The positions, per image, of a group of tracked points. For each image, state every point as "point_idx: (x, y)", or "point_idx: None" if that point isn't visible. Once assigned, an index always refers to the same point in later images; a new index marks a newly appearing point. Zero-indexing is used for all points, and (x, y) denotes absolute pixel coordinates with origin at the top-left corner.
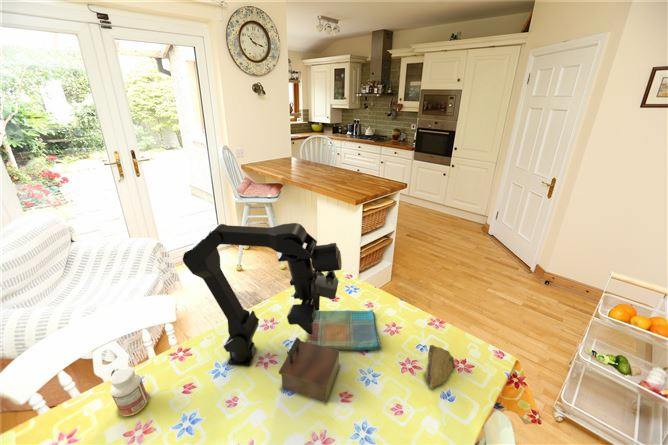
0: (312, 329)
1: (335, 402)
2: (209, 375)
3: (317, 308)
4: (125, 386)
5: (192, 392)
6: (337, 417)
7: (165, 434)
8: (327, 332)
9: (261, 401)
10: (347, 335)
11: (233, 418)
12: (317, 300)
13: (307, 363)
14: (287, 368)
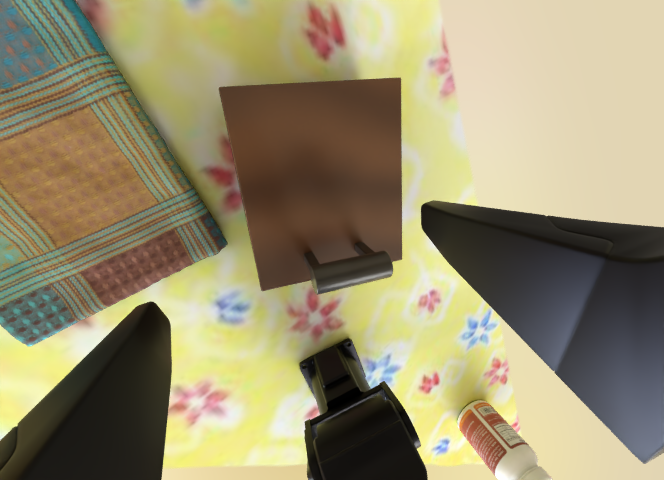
0: (470, 209)
1: (354, 62)
2: (397, 379)
3: (153, 325)
4: (534, 463)
5: (434, 371)
6: (392, 39)
7: (497, 341)
8: (98, 215)
9: (413, 252)
10: (45, 115)
11: (456, 275)
12: (96, 415)
13: (342, 193)
14: (383, 243)
